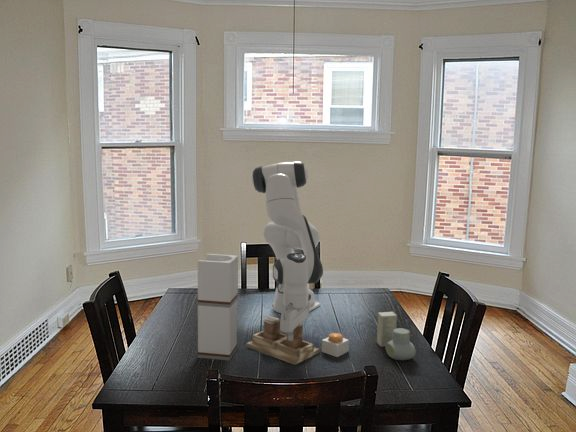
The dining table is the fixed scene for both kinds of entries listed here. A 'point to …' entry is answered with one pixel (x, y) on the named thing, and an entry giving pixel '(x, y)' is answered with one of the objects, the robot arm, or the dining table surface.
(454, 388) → the dining table surface
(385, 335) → the skincare box
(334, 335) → the button
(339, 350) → the button housing
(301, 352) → the wooden compartment tray
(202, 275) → the tall open-top box
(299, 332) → the block
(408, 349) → the air freshener
